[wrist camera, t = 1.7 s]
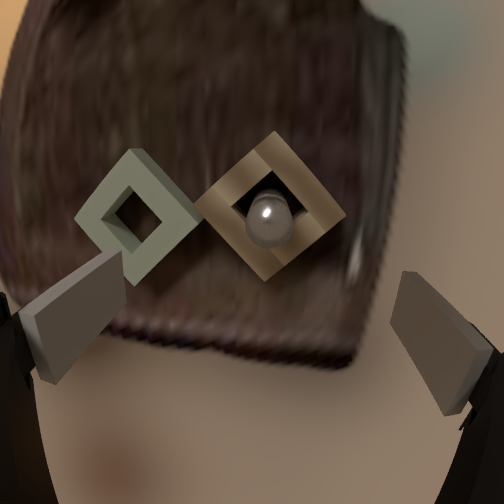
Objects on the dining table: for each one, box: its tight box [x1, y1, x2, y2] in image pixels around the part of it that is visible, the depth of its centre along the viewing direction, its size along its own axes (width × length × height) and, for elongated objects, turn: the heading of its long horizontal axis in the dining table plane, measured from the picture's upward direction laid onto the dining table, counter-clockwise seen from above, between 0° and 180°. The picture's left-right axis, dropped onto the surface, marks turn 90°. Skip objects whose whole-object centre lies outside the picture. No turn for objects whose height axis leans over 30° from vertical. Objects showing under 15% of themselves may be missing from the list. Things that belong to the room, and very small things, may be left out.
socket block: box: [74, 149, 204, 286], centre depth 37 cm, size 12×12×4 cm
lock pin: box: [245, 187, 293, 249], centre depth 32 cm, size 4×4×12 cm
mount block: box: [193, 131, 346, 282], centre depth 35 cm, size 12×12×4 cm
